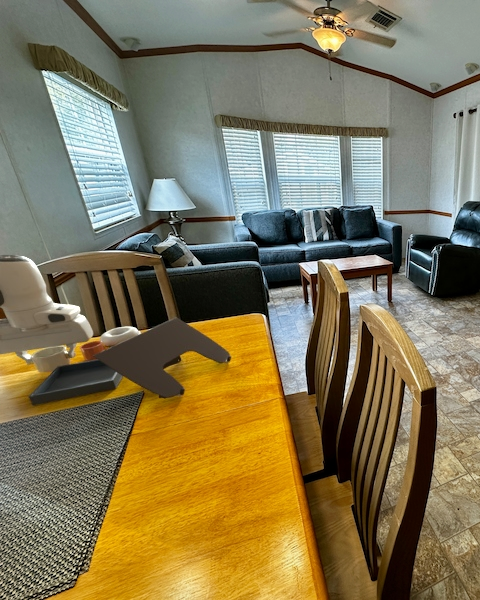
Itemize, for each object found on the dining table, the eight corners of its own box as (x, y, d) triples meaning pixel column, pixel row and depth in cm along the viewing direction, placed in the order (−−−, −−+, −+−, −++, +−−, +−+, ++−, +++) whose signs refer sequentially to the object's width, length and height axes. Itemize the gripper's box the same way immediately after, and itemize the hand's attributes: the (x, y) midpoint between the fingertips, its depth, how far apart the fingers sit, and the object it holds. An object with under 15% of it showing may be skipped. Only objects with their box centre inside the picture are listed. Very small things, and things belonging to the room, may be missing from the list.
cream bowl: (31, 374, 88) (25, 360, 86) (45, 362, 94) (39, 348, 92) (64, 369, 91) (58, 355, 89) (75, 357, 96) (70, 344, 95)
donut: (143, 331, 114) (108, 336, 111) (141, 322, 113) (105, 327, 109) (135, 344, 106) (96, 350, 102) (132, 335, 104) (92, 340, 101)
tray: (32, 405, 78) (28, 396, 77) (61, 374, 90) (57, 366, 89) (116, 388, 84) (112, 380, 83) (132, 361, 96) (129, 353, 96)
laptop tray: (166, 423, 81) (170, 399, 77) (91, 375, 82) (91, 349, 78) (234, 372, 101) (240, 350, 97) (173, 334, 103) (176, 311, 99)
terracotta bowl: (81, 362, 96) (76, 350, 94) (88, 354, 100) (83, 342, 99) (102, 358, 98) (98, 347, 96) (108, 350, 102) (104, 339, 101)
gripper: (-31, 326, 80) (-6, 374, 85) (76, 314, 88) (93, 358, 93) (-14, 317, 85) (9, 362, 90) (86, 305, 93) (101, 348, 98)
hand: (52, 360), depth 92 cm, fingers closed on cream bowl, 7 cm apart
